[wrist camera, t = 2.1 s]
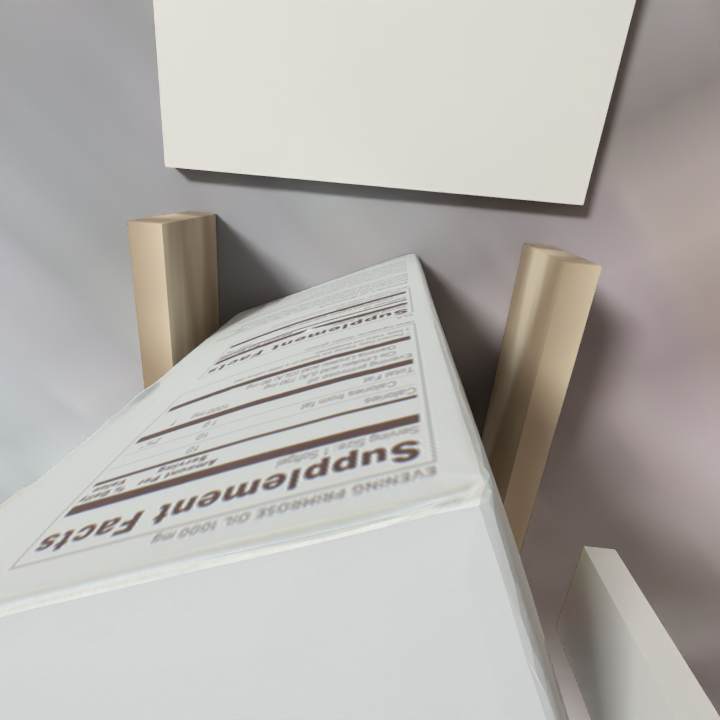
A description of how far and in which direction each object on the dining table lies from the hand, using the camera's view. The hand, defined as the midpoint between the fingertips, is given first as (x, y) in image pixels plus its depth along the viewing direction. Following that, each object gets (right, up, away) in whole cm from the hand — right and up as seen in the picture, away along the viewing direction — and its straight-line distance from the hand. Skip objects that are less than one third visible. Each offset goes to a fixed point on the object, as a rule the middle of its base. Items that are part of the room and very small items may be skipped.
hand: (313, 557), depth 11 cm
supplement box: (+1, +5, +11) cm, 12 cm away
